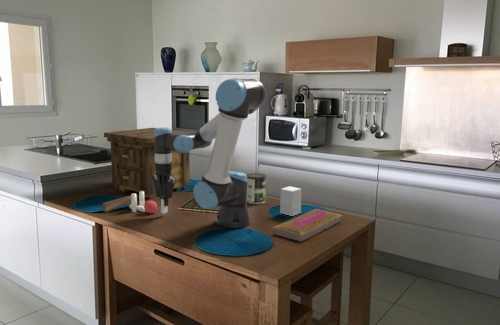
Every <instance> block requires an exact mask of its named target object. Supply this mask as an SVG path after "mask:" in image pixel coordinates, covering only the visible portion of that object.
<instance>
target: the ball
mask: <svg viewBox="0 0 500 325" xmlns="http://www.w3.org/2000/svg"><path fill="white" fill-rule="evenodd" d="M144 209H145V211H144V212H146V213H148V214H154V213H155V212H156V211H157V209H158V204H157V202H156V201H155V200H148V201H145V205H144Z"/></svg>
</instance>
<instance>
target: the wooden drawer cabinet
mask: <svg viewBox="0 0 500 325" xmlns="http://www.w3.org/2000/svg"><path fill="white" fill-rule="evenodd" d="M156 128H157V127H147V128H139V129H136V128H135V129H129V130H120V131H119V130H118V131H109V132H103V137H104V138H107V142H110V158H111V159H110V160H111V182H112V183H111V184H112V187H113V188H118V191H120V192H129V191H134V192H136V193H139V192H140V191H144V198H148V199H152V198H156V197H157V196H156V192H155V187H154V182H153V179H152V176H154V175H156V171H155V163H156V162H155V147H154V130H155V129H156ZM171 132H172V134H186V133H193V131H186V130H175V129H171ZM171 163H172V170H171V174H172V177H173V178H175V179H176V181H175V183H174V188H173V190H174V189H177V190H176V191H180V190H179V189H181V190H183V189H182V188H184V189H185V187H186V186H189V185H190V183H191V182H190V151H189V152H187V153H184V152H183V153H180V152H176V151H172V161H171Z"/></svg>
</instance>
